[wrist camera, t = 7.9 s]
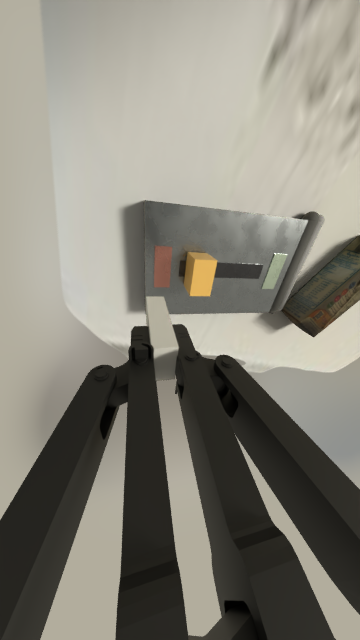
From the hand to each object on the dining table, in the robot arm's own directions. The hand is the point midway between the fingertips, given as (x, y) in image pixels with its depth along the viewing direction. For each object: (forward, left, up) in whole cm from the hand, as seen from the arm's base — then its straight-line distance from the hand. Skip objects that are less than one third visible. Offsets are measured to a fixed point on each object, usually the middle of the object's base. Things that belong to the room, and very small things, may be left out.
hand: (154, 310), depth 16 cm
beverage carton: (+3, +37, -16) cm, 40 cm away
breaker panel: (0, +12, -15) cm, 19 cm away
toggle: (0, +7, -12) cm, 14 cm away
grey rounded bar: (0, +26, -15) cm, 30 cm away
